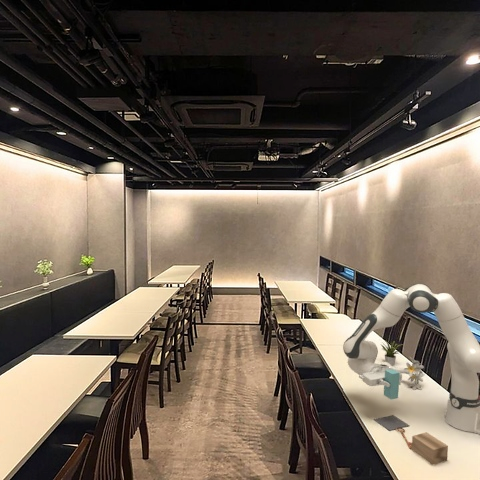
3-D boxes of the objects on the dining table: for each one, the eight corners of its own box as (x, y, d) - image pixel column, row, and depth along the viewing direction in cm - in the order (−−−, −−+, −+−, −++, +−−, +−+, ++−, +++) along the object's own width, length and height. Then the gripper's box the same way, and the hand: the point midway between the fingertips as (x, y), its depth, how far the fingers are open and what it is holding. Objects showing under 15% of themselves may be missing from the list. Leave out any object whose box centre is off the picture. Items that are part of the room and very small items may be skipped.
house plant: (399, 361, 253) (400, 338, 252) (406, 369, 239) (407, 344, 238) (377, 360, 254) (378, 336, 253) (383, 368, 240) (384, 343, 239)
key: (420, 451, 153) (408, 430, 168) (420, 449, 153) (408, 428, 168) (405, 448, 153) (394, 427, 168) (405, 446, 153) (395, 425, 168)
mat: (392, 415, 180) (393, 414, 180) (409, 426, 171) (409, 425, 171) (373, 419, 175) (373, 419, 175) (389, 431, 166) (389, 430, 166)
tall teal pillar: (390, 393, 176) (392, 369, 176) (398, 398, 172) (399, 372, 172) (383, 395, 175) (385, 370, 174) (390, 399, 171) (392, 374, 170)
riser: (425, 446, 156) (426, 432, 155) (447, 460, 146) (447, 445, 146) (411, 450, 153) (412, 435, 152) (432, 464, 143) (433, 449, 143)
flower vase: (380, 389, 224) (422, 393, 206) (372, 360, 224) (413, 361, 206) (390, 379, 233) (430, 383, 214) (381, 351, 233) (421, 352, 215)
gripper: (357, 369, 180) (377, 380, 167) (389, 364, 188) (411, 375, 175) (356, 381, 180) (376, 394, 168) (388, 376, 188) (410, 388, 176)
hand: (394, 384), depth 171 cm, fingers closed on tall teal pillar, 4 cm apart
